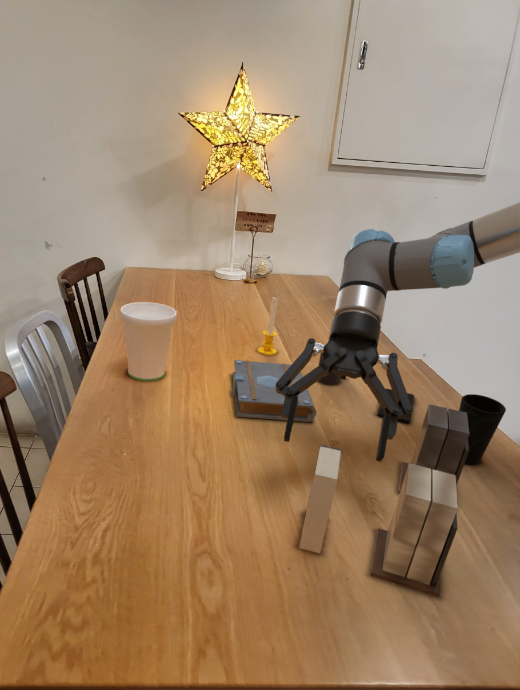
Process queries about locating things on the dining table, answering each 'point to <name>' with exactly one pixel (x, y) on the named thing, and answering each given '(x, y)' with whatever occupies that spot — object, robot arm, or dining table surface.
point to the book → (266, 392)
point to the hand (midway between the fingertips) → (332, 449)
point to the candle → (270, 331)
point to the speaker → (329, 375)
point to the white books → (418, 531)
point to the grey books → (441, 442)
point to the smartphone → (390, 392)
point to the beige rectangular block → (320, 498)
